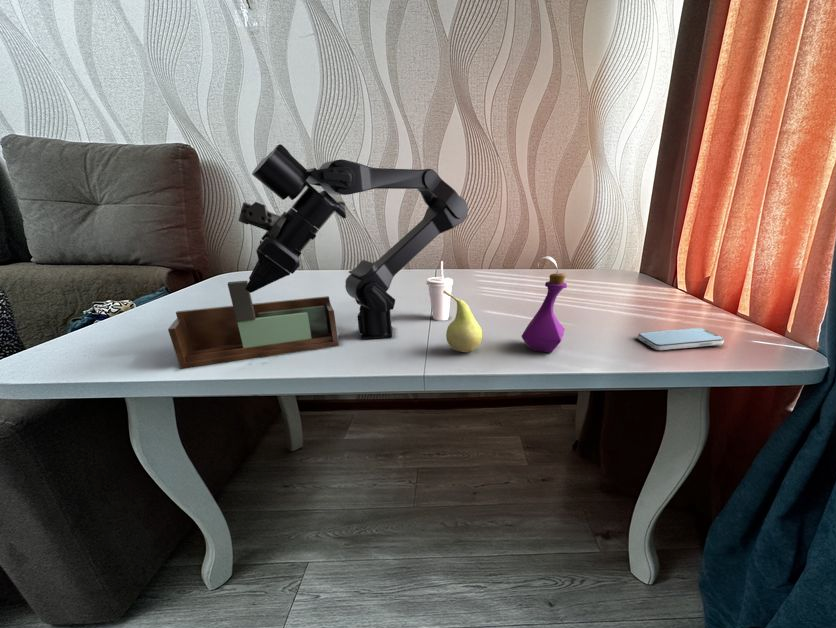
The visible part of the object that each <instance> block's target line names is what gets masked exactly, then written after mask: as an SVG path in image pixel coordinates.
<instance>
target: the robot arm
mask: <svg viewBox="0 0 836 628" xmlns="http://www.w3.org/2000/svg"><path fill="white" fill-rule="evenodd" d="M251 175H252V176H253V177H254V178H255V179H256V180H258V181H259V182H260V183H261V184H263V185H264V186H265V187H266V188H268V189H269V190H270V191H271V192H272V193H274V194H275V195H276V196H277V197H278V198H280V199H281V200H282V201H284V200H286V199H287V198H289V199H290V200H291V201H294V200H295V199H296V198H297V197H298V199H296V201H295V202H294V203H293V204H292V205H291V207H290V208H289V209H288V210H287V211H284V212H283V213H282V214H281V215H278V214H276V213H274V212H271V211H268V210H267V207H266V205H265V204H262V203H260V202H259V201H258V202H257V201H254V202H253V203H252V204H251V203H248V202H246V201H245V202H244V201H243V202H242V206H241V209H240V212H239V216H238V220H237V221H238V222H240V223H242V224H245V225H251V226H253V227H256V228H259V229H262V230H264V231H266V232H265V233H264V234H263V235H262V236H261V239H260V240H259V245H258V246H257V248H256V251H255V252H256V255H257V259H258V260H257V261H256V263H255V266H254V267H253V269H252V271H251V274H250V275H249V277H248V284H247V286H246V288H245V289H246V290H247V291H248V292H250V294H251V293H254V292H256V291H258V290H260V289H262V288H264V287H266V286H268V285H270V284H272V283H274V282H277V281H279V280H281V279H283V278H286V277H289V276H291V274H292V275H293V274H294V273H295V272H296V271H297V270H298V268H299V267H300V266H301V265H300V259H299V257H300V256H301V255H302V253H303V252H302V251H303V250H304V249H305V248H306V246H308V244H309V243H310V241H313V240H314V239H315V238H316V237H317V233H318V232H319V231H320V230H321V229H322V228H323V226H324V225H325V224H326V223H327V222H328V220H329V219H330V218H331V217H332V216H333V214H336V215H337V216H338V217H341V218H342V219H346V218H347V212H346V203H345V202H344V201H341V200H340V201H337V200H336V199H335V198H334V197H332V195H333V196H346V195H347V196H348V195H354V194H359V193H363V192H367V191H370V190H378V189H379V190H382V189H383V190H388V189H390V190H417V191H418V192H419V193H420V195H421V197H422V199H423V202H424V204H425V205H426V206H427V208H426V211H425V213H424V215H423V218H422V220H420V221H419V222H418V223H417V224H416V225H414V227H413V228H412V229H411V230H409V231H408V232H407V233H406V234H405V235H404V236H403V237H401V239H400V240H399V241H397V242H396V243H395V244H394V245H393V246H392V247H390V248H389V250H387V251H386V252H385V253H384V254H383V255H382V256H381V257H380V258H378V259H377V260H376V261H373V262H372V261H368V260H365V259H362V260H361V261H360V262H359V263H358V264H357V266H356V267H355V268H353V269H351V270H349V271H348V274H349V275H348V276H347V277H346V279H345V291H346V293H347V295H349V296H350V297H351V298H352V299H353V300H355V303H356V304H357V305H358V306H359V312H358V314H357V325H358V333H359V334H360V335H361V336H360V339H361V340H369V339H370V340H371V339H387V338H393V325H392V316H391V315H392V314H391V311H392V310H394V308H395V304H396V298H394V297H393V296H392V295H391V294H389V293H388V290H389V289H390V286H391V283H392V282H393V278H395V276H396V275H397V274H398V273H399V272H400V271H401V270H402V269H403V268H404V267H405V266H406V265H408V264H409V263H410V262H411V261H412V260H413V259H414V258H415V257H416V256H417V255H418V254H419V253H420V252H422V251H423V250H424V249H425V248H426V247H427V246H428V245H429V244H431V243H432V241H433V240H434V239H436V238H437V237H438V236H439V235H440V234H443V233H445V232H448V231H450V230H452V229H453V230H454V229H455V228H456V227H457V226H460V225H461V224H462V223H464V222H465V221H466V220H467V218H468V216H469V213H468V211H469V206H468V204H467V201H466V200H465V198H463V197H462V196H460V195H459V194H458V192H457V191H456V190H455V189H454V188H453V187H452V186H450V185H449V184H448V183H447V182H445V181H444V180H443V179H442V178H441V177H440V175H439V173H437V172H436V171H435V170H434V169H433V168H421V169H413V168H387V167H386V168H385V167H384V168H383V167H382V168H381V167H372V166H368V165H366V164H362V163H360V162H356V161H351V160H348V159H347V160H346V159H336V160H331V161H326V162H323V163H322V164H321V166H320V167H319V168H318V169H317V168H316V167H312V168H305V166H303V164H302V163H300V162H299V161H298V160H297V159H296V158H295V157H294V156H293V155H292V154H291V153H290V151H289V150H288V149H287V148H286V147H285V146H284V145H283V144H281V143H280V144H276V146H275V147H274V148H273V150H271V151H270V152H269V153H268V154H267V155H266V157H264V158H262V159H261V160H260V161H259V163H258V164H257V165H256V166H255V168H254V169H253V171H252V173H251ZM314 186H316V187H321V189H323V190H321V191H318V190H317V189H316V188H315V187H314ZM305 188H306V189H305ZM304 189H305V190H304ZM303 190H304V191H303ZM299 195H300V196H299Z"/></svg>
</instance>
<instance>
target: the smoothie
mask: <svg viewBox="0 0 836 628" xmlns="http://www.w3.org/2000/svg"><path fill="white" fill-rule="evenodd" d="M439 265H440V276H435V277H429V278H427V279H426V283H425V284H426V285H427V287H428V294H429V299H430V306H431V312H432V319H433V320H434V321H447V320H449V314H450V305H451V297H450V296H448V295H446V294H444V293H443V291H444V290H446V291H447V292H448V293H449V294H451V295H452V288H453V287H452V286H453V285H454V279H453V278H452V277H448V276H446V277H445V276H444V260H440V264H439Z"/></svg>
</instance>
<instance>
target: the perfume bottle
mask: <svg viewBox="0 0 836 628" xmlns="http://www.w3.org/2000/svg"><path fill="white" fill-rule="evenodd" d="M544 259H546V260H549V261H551V262H552V263H553V264H554V266H555V267H556V273H550V274H549V280H548V281H546V282H545V283H544V286H545V288H546V289H547V293H546V296H545V297H544V300H543V301H542V303H541V306H540V307H539V309H538V310H537V312H536V314H535V315H534V316H533V318H532V319H531V320H530V321H529V323H528V324H527V326H526V328H525V329H524V331H523V332H522V334H521V339H522V340H523V342H524V343H525V344H526V346H527V347H528V349H529V350H530V351H534V352H541V353H550V354H551V353H553V352H554V351H555V349H556V348H558V346H559V344H560V343H561V342H562V340H563V337H564V333H565V330H566V328H565V327H564V326H563V325H562V324H561V322H560V321H559V320H558V318H557V317H556V315H555V312H554V307H555V302H556V300H557V297H558V295H559V294H560V293H561V292H562V291H563V290H564V289H567V287H568V284H567V282H564V281H565V279H566V277H567V275H566V274H565V273H564V272H563V273H559V267H558V264H557V261H556V260H555V259H554V257H552V256H550V255H547V256H542V257H541V258H539V260H538V262H537V267H539V265H540V263H541V261H542V260H544Z"/></svg>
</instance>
